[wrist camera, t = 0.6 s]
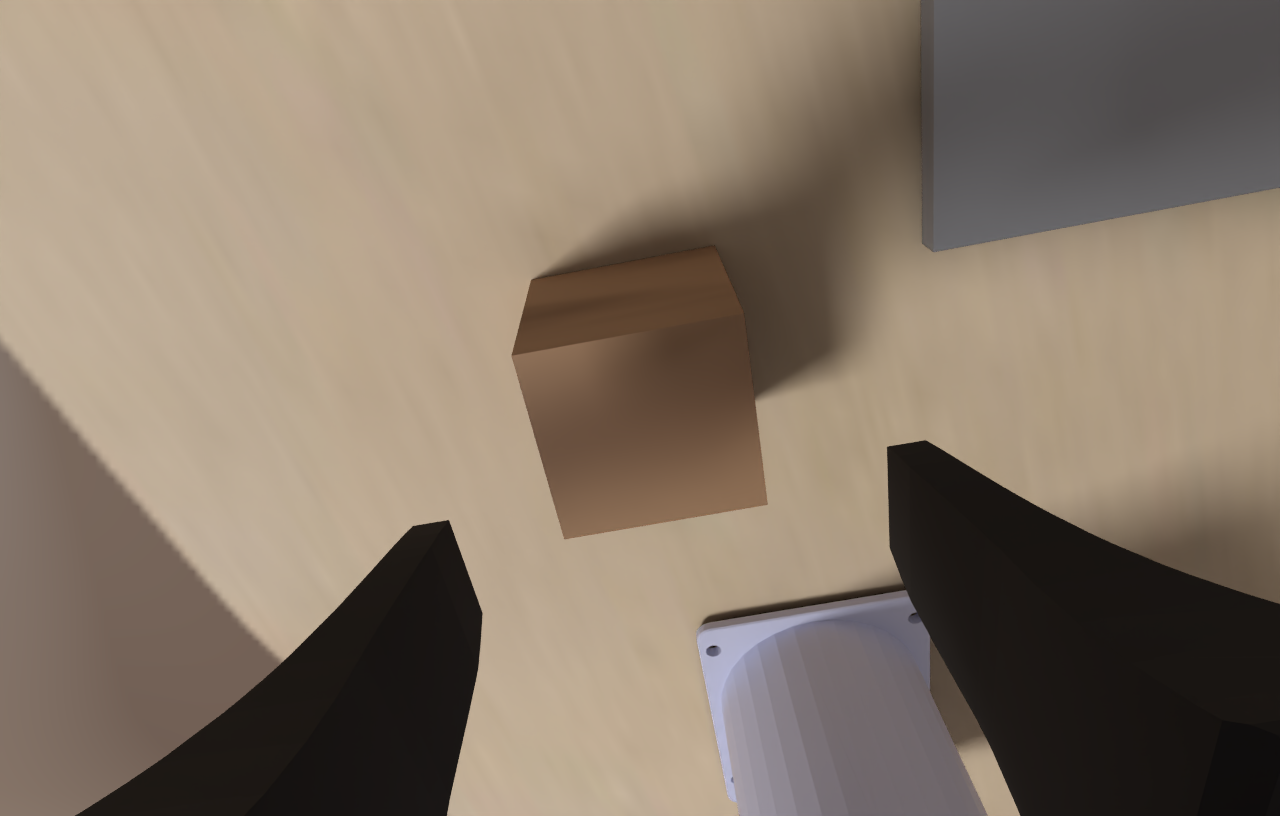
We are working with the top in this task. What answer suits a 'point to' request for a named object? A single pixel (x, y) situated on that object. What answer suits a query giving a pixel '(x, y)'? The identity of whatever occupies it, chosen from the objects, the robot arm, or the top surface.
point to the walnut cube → (641, 392)
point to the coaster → (1091, 111)
